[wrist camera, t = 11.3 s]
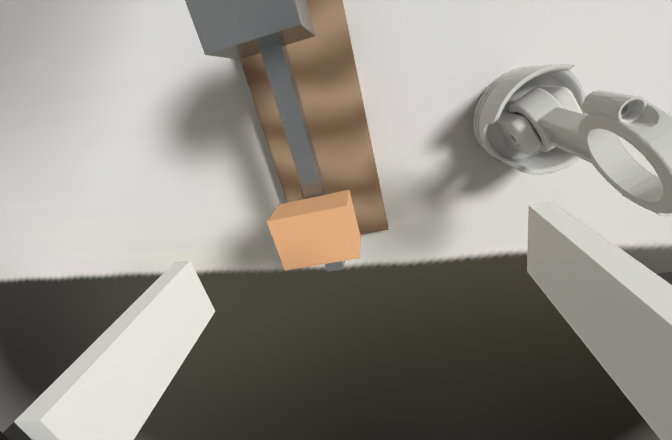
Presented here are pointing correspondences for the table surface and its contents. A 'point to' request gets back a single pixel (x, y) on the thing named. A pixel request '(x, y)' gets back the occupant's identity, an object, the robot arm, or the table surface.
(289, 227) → the block
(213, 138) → the table surface
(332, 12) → the hole plate
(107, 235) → the table surface
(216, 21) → the grey piece
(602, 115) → the engine component
